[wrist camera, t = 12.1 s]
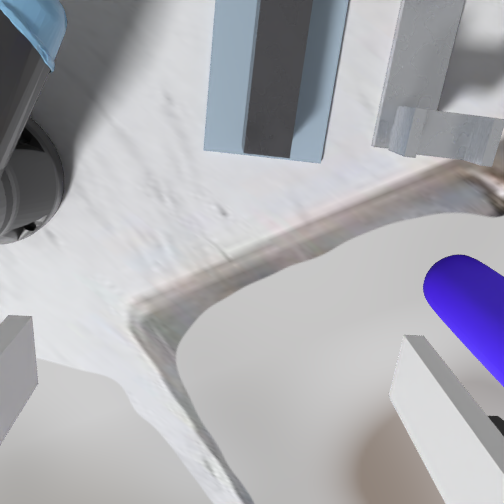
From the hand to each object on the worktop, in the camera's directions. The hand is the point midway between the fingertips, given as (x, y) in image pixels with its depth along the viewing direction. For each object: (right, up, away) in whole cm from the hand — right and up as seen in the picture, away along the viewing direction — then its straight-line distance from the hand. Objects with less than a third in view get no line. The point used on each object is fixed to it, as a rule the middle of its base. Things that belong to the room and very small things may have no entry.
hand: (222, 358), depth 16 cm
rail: (+4, +26, +29) cm, 39 cm away
